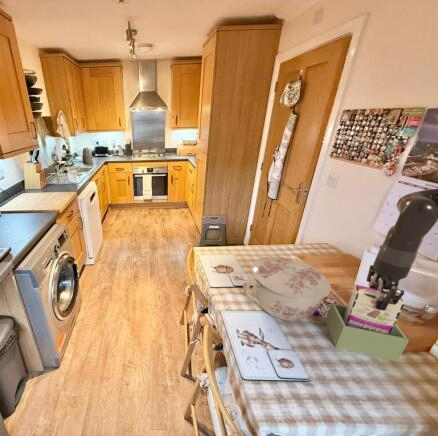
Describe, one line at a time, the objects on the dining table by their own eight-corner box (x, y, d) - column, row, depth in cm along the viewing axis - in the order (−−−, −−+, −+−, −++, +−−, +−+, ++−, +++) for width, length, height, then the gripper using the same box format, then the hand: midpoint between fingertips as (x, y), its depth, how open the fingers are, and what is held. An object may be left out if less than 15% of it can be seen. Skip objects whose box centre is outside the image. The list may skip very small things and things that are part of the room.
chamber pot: (319, 299, 101) (332, 259, 93) (319, 347, 81) (336, 301, 72) (251, 278, 116) (258, 242, 108) (237, 314, 95) (243, 273, 87)
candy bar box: (382, 331, 80) (400, 294, 73) (386, 342, 76) (406, 304, 69) (341, 319, 85) (355, 283, 79) (343, 329, 81) (358, 292, 75)
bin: (378, 333, 85) (388, 313, 81) (396, 362, 75) (409, 340, 71) (324, 322, 90) (331, 302, 86) (335, 347, 80) (343, 326, 76)
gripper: (428, 275, 62) (403, 322, 68) (396, 249, 74) (377, 290, 81) (392, 270, 64) (371, 316, 71) (367, 245, 76) (351, 286, 83)
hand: (375, 302), depth 76 cm, fingers closed on candy bar box, 5 cm apart
